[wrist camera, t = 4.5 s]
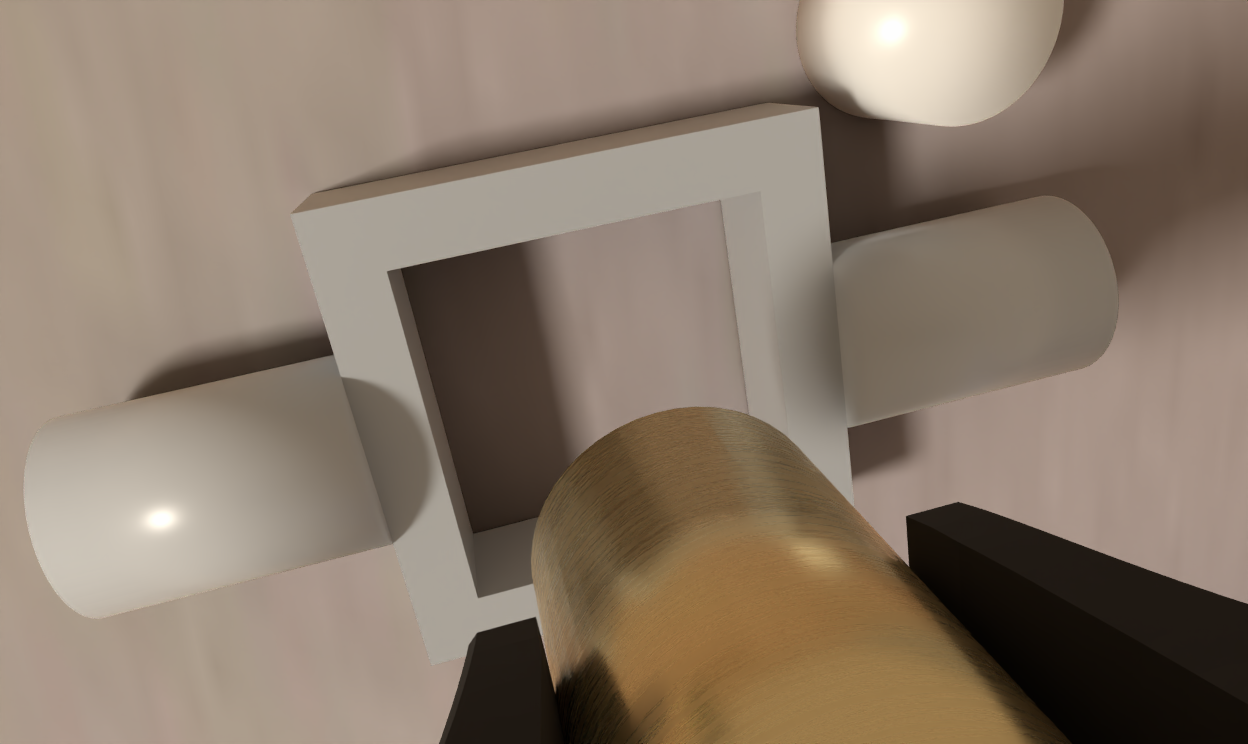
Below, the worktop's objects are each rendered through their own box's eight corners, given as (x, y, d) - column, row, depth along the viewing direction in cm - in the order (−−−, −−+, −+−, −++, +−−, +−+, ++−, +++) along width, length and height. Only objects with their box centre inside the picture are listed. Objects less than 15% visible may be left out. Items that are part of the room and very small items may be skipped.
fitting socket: (997, 56, 18) (1126, 52, 14) (1004, 443, 21) (1111, 513, 18) (26, 251, 15) (-89, 300, 12) (199, 655, 18) (146, 783, 15)
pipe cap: (961, -92, 17) (1065, -125, 14) (966, 100, 18) (1063, 104, 15) (786, -62, 16) (858, -90, 13) (804, 133, 18) (873, 144, 15)
